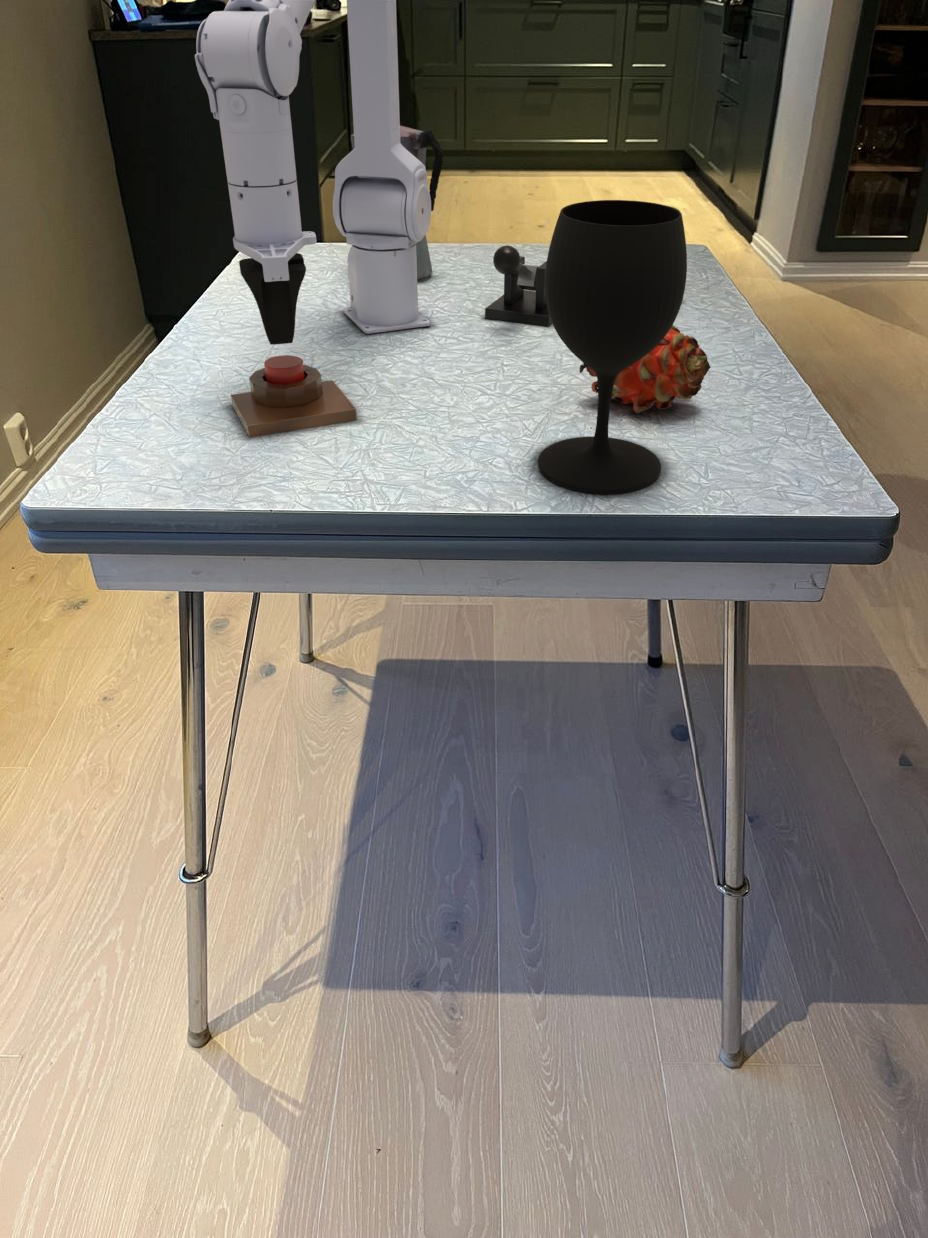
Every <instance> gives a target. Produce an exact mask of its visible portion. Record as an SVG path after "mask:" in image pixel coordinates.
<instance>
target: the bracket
mask: <svg viewBox="0 0 928 1238" xmlns="http://www.w3.org/2000/svg"><path fill="white" fill-rule="evenodd" d="M525 262H526V257H525V256H522V255H520V263H522V264H525V265H526V263H525ZM546 263H547V260H546V261H544V262H543V263H541V265H539V266H538V268H537V277H536V291H531V290H523V289H522V288H521V287H519V286H518V285H517V279H518V276H517V275H516V274H514V273H512V274H508V275H505V274H503V275H504V277H503V284H504V285H503V294H502V295H501V296H499V297H498V298H497V299H495V300H494V301H493V302H491V303H490V304H489V305H488V306H487V307H485V308H484V318H485V319H488V320H495V321H503V322H511V323H519V324H528V325H536V326H543V327H549V326H550V325H552V321H551V318H550V315H549V312H548V308H547V304H546V296H545V272H546Z"/></svg>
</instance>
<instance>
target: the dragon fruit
mask: <svg viewBox="0 0 928 1238" xmlns="http://www.w3.org/2000/svg"><path fill="white" fill-rule="evenodd" d="M711 368H712V366H711V365H710V362H709V361H708V355H707V353H706V352H705V351H704V350H703V348H701V347H700V345H699V342H698V340H697V338H695V337H694V336H689V335H688V334H686V335H685V334H684V333H683V332H681V330H680V329H679V328H678V327H676V326H675V325H674V324H673V325H672V327H671V329H670V330H669V332H668V333H667V334H666V336H665V337H664V338H663V339H662V341H661V342H660V343H659V344H658V345H657V346H656V347H655V348H654V349H653V350H652V351H651V352H649V353H648V354H647V355H646V356H645V357H643V358H642V359H640V360H639V361H637V362H636V363H634V364H633V365H631V366H630V367H628V368H626V369H624V370H623V371H621V372H620V373H619V374H618V375H617V377H616V379H615V382H614V386H613V391H612V396H611V399H612V400H613V399H614V400H616V401H617V402H619V403H620V404H621V405H622V404H623V405H628V404H632V406H633V407H632V409H633V411H634V413H636V414H640V413H642V412H644V411H648V410H650V409H651V408H652V407H653V405H654V406H655V408H657V410H660V411H661V410H668V409H669V408H671V407H672V406H673V404H674V400H675V399H680V400H685V401H686V400H690V399H692V398H693V397H694V396H696V395H697V394H698V393H699V392H700V391H701V389H702V383H703V381H704V379H705V376H707V374H708V372H709V371H710V369H711ZM585 369H586V370H585ZM584 370H585V371H587V373H588V374H589V376H591V377H593V378H597V376H596V373H595V372H594V371H593V370H592V369H591V368H590V367H588V366H587V365H586V364H585V363H583V362H582V364H580V366H579V374H582V373H584ZM591 390H592V393H593V392H594V394H596V395H598V381H597V380H596V381H594V382H592V383H591Z"/></svg>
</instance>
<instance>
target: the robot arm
mask: <svg viewBox="0 0 928 1238" xmlns="http://www.w3.org/2000/svg"><path fill="white" fill-rule="evenodd" d="M315 1H316V0H228V1H227V3H226V5H225V7H224V9H223V10H215V11H212V12H211V13H209V15H208V16H207V17H206V18H205V19H203V20H202V22H201V23H200V25H199V27H198V30H197V32H196V33H197V34H196V41H195V42H196V43H195V44H196V45H195V47H196V51H195V52H196V54H194V61H195V65H196V68H197V69H196V70H197V73H198V76H199V78H200V80H201V83H202V85H203V86H204V88H205V90H206V92H207V96H208V100H209V101H208V102H209V107H210V108H209V109H210V113H212V116H213V119H215V120H217V121H219V128H220V137H221V143H222V150H223V151H222V152H223V159H224V165H225V166H224V167H225V174H226V180H227V181H226V182H227V187H228V194H229V195H228V196H229V201H230V211H231V216H232V218H231V219H232V225H233V231H234V236H233V238H232V243H233V248H234V249H235V250H236V251H237V252H239V253H241V254H243V255H245V256H247V257H248V258H243V259H240V260H239V261H238V265H239V272H240V275H241V277H242V279H243V280H244V282H245V283H246V285H247V286H248V289H249V290H250V292H251V294H252V295H253V298H254V300H255V303H256V305H257V308H258V311H259V315H260V319H261V321H262V326H263V328H264V331H265V335H266V338H267V340H268V343H269V345H271V346H273V345H285V344H287V345H288V344H292V343H293V342H294V337H295V331H296V316H297V303H298V298H299V294H300V289H301V286H302V283H303V281H304V279H305V276H306V272H307V267H306V264H305V260H304V259H305V258H304V256H303V254H301V253H298V252H300V250H301V249H303V248H304V247H305V246H310V245H316V244H317V235H316V232H314V231H308V230H307V231H302V228H303V227H302V219H301V210H300V199H299V189H298V179H297V168H296V159H295V157H296V156H295V148H294V137H293V127H292V117H291V106H290V97H289V96H290V95H291V94H292V93H293V91H294V90H295V88H296V87H297V86H298V81H299V75H300V55H301V51H302V49H303V48H302V47H303V46H302V45H303V40H302V36H301V32H302V30H303V28H304V27H305V24H306V22H307V19H308V17H309V15H310V13H311V11H312V8H313V7H314V6H313V5H314V3H315ZM346 13H347V17H346V18H347V33H348V34H347V36H348V52H349V67H350V68H349V69H350V87H351V101H352V102H351V105H352V107H351V108H352V121H353V134H354V143H355V148H354V149H353V148H352V150H351V151H349V153H348V154H346V155H345V156H344V157H343V158H342V159H341V160H340V161H338V164H337V165H336V167H335V170H334V171H335V172H334V190H333V197H332V217H333V221H334V224H335V227H336V228H337V230H338V231H339V233H340V234H341V235H342V236H343V237H345V238H346V239H345V240H346V245H351V246H350V248H349V251H348V253H347V271H348V286H349V300H350V302H349V303H350V306H346V307H343V308H342V311H343V313H344V314H345V315H346V316H347V317H348V318H349V319H350V320H351V321H352V322H353V323H354V324H355V325H356V326H357V327H358V328H359V329H360V330H361V331H362V332H363V333H364V334H368V335H369V334H377V333H378V334H379V333H385V332H394V331H400V330H407V329H408V330H409V329H417V328H423V327H430V326H431V321H430V320H429V319H428V318H426V316H424V315H423V314H422V313H421V312H420V311H419V291H418V279H417V258H416V243H417V242H419V241H421V240H422V239H423V237H424V236H425V235H426V236H427V233H428V231H429V228H430V225H431V218H432V211H431V198H430V193H429V192H430V190H429V184H428V173H427V170H426V169H427V168H426V165H425V166H424V165H423V164H422V163H421V162H420V161H419V160H418V159H417V158H416V157H415V156H413V155H412V154H411V153H410V152H409V151H408V150H406V149H405V148H404V147H403V146H402V144H401V143H400V126H401V120H400V89H399V88H400V86H399V85H400V84H399V54H398V25H397V24H398V23H397V21H398V20H397V0H346ZM359 176H368V177H387V178H395V179H378V178H359ZM396 179H398V180H396Z"/></svg>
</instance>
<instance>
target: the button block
mask: <svg viewBox="0 0 928 1238" xmlns="http://www.w3.org/2000/svg"><path fill="white" fill-rule="evenodd" d="M303 366H304V375H305V379H304V380H302V381H300V382H297V383H291V384H272V383H269V382H267V381H266V375H265V368H264V367H263V368H260V369H258V370H255V371H253V373H252V374H251V375H250V376H249V378H248V381H249V388H250V391H247V392H241V393H233V394H230V399H231V400H230V401H231V406H232V408H233V410H234V412H235V415H236V416H237V417H238V419H239V421H240V423H241V425H242V427H243V429H244V430H245V432H246V434H247V436H248V438H249V439H251V438H257V437H262V436H269V435H275V434H281V433H287V432H294V431H299V430H305V429H313V428H318V427H319V428H320V427H324V426H331V425H337V424H343V423H350V422H355V421H358V419H357V417H358V416H357V408H356V407H355V405H353V403H352V402H351V401H350V399H349V398H348V397H347V396H346V395H345V394H344V392H343V391H342V390H341V389H340V387H339V386H338V385H337V384H336V383H335V381H334V380H333V379H330V380H329V379H328V380H322V379H323V378H322V374H321V372H320V371H319V370H318V369H317V368H316V367H313V366H310V365H307V364H303Z"/></svg>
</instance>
